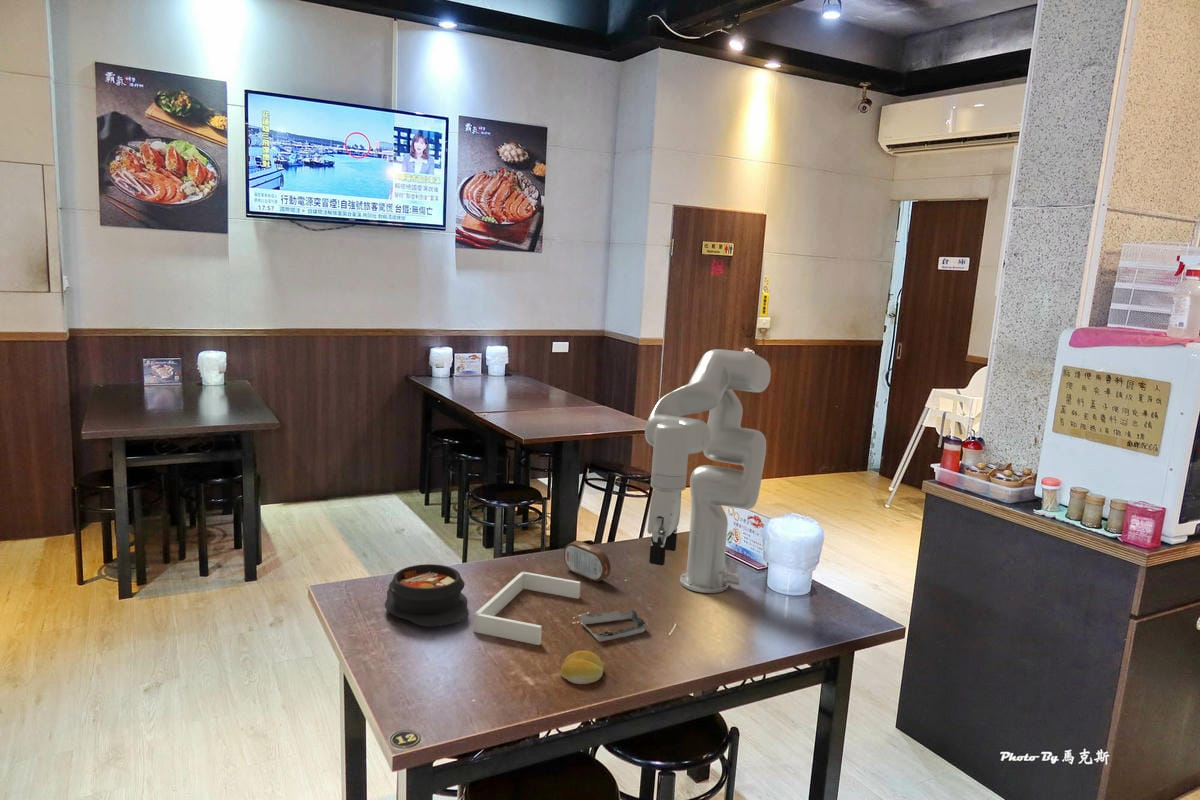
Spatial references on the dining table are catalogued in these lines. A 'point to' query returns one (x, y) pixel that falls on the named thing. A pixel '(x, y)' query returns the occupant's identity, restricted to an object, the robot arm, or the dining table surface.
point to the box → (524, 580)
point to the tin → (587, 561)
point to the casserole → (427, 595)
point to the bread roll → (582, 667)
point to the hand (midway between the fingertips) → (662, 556)
